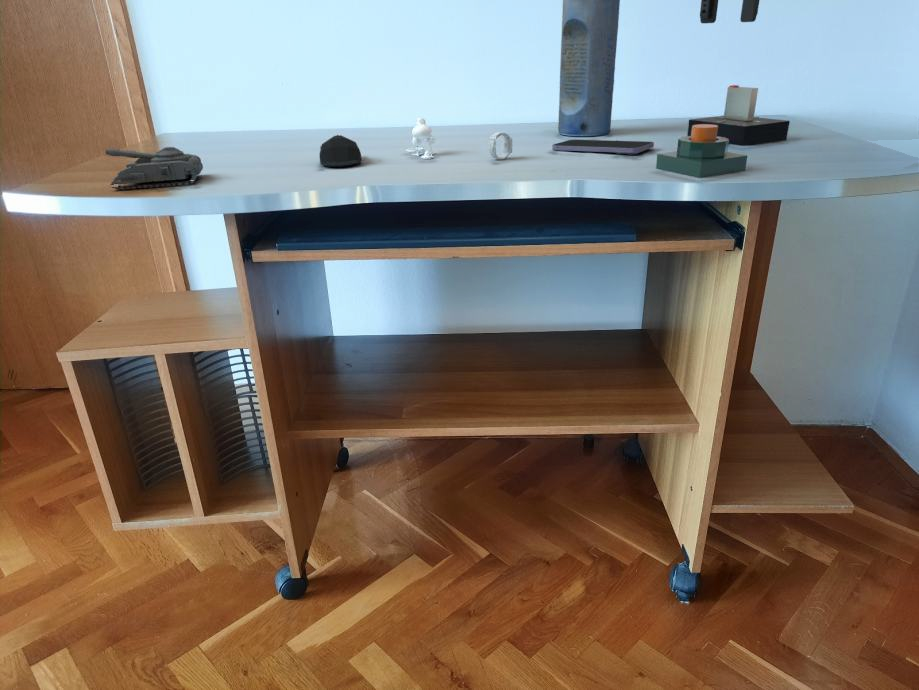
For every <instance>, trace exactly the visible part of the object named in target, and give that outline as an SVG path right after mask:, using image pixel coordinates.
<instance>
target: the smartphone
mask: <svg viewBox="0 0 919 690" xmlns="http://www.w3.org/2000/svg"><path fill="white" fill-rule="evenodd" d="M654 146H655V142H654V141H643V140H642V141H640V140H638V141H637V140H606V139H605V140H603V139H602V140H601V139H568V140H564V141H561V142H558V143H554V144H552V145H551V147H552V148H551V149H552V150H553V151H567V152H572V151H573V152H594V153H595V152H596V153H615V154H616V155H621V156H622V155H623V156H624V155H628V156H636V155H638V154H640V153H643V152H645V151H647V150H650V149H653V148H654Z"/></svg>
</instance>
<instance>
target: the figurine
mask: <svg viewBox="0 0 919 690" xmlns="http://www.w3.org/2000/svg"><path fill="white" fill-rule="evenodd" d="M415 122H416V123H415V124H416V125H415V126H414V127H413V129H412V131H411V135H412V139H411V141H412V144H413V146H416V147H409V148H406V152H407V153H411V156H417V157H419V156H421V159H424V160H430V159H433V158H434V155H436V154H437V152H433V150H432V145H434V144H435V143H436V139H435V136H434V135H432V133H433V130H432V128H431V127H430V126H429V125H427V124H426V119H425V118H423V117H418V118H417V119H416V121H415ZM423 141H425V143H426V144H427V145H428V146H429V150H426V151H424V147H419V146H420V145H421V144H422V143H423ZM419 152H420V153H419ZM423 152H424V154H423Z"/></svg>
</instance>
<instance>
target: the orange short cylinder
mask: <svg viewBox="0 0 919 690" xmlns="http://www.w3.org/2000/svg"><path fill="white" fill-rule="evenodd" d="M717 132H718V126H717V125H711V124H698V125H693V126H692V131H691V140H693V141H716V139H717Z"/></svg>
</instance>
